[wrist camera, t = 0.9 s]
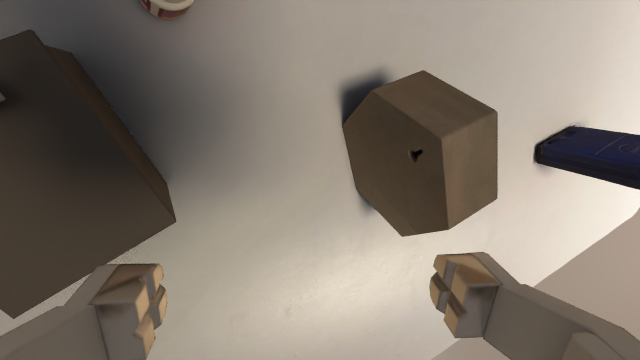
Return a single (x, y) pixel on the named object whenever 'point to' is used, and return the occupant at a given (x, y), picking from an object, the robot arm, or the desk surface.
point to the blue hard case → (595, 154)
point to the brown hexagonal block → (423, 153)
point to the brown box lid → (60, 182)
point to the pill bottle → (167, 7)
